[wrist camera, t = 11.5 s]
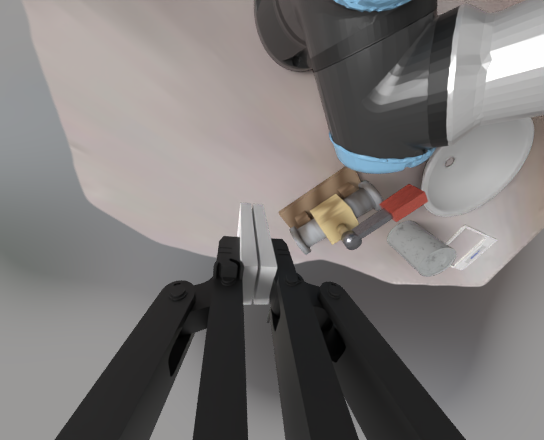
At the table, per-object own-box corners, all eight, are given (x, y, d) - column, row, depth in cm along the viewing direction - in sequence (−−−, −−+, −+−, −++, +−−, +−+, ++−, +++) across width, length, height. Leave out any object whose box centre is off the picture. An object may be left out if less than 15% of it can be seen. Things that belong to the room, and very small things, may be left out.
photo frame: (462, 271, 73) (431, 260, 67) (460, 268, 74) (428, 258, 68) (498, 240, 66) (466, 226, 61) (494, 238, 67) (463, 224, 62)
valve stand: (350, 163, 45) (385, 183, 34) (365, 197, 51) (401, 224, 40) (278, 211, 49) (289, 244, 38) (300, 238, 55) (315, 273, 44)
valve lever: (413, 194, 37) (428, 202, 34) (342, 241, 41) (350, 252, 38) (408, 182, 36) (424, 190, 32) (335, 232, 39) (343, 243, 36)
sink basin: (519, 99, 43) (561, 99, 38) (471, 198, 56) (497, 209, 51) (417, 112, 42) (445, 114, 36) (392, 211, 54) (409, 224, 49)
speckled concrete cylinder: (420, 216, 57) (460, 243, 46) (415, 241, 62) (451, 270, 52) (388, 226, 57) (421, 254, 47) (386, 250, 62) (415, 280, 52)
